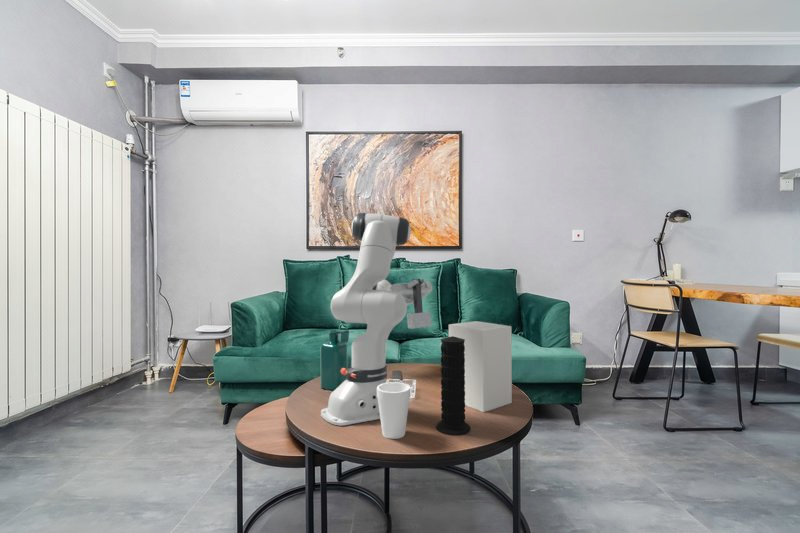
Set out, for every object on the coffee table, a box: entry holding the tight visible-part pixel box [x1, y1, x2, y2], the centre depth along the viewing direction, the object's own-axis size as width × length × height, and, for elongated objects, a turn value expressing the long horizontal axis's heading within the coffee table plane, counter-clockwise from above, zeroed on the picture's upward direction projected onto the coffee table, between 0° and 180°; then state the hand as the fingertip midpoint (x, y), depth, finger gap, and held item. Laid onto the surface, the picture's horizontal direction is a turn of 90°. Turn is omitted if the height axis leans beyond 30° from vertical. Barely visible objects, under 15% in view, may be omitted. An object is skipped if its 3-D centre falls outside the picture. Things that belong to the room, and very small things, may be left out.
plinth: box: [448, 320, 513, 413], centre depth 136 cm, size 14×16×26 cm
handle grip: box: [435, 336, 472, 436], centre depth 113 cm, size 10×26×10 cm
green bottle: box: [319, 329, 350, 391], centre depth 152 cm, size 10×8×22 cm
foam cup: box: [377, 381, 411, 440], centre depth 110 cm, size 10×9×13 cm
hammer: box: [406, 278, 432, 330], centre depth 163 cm, size 10×20×3 cm
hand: (420, 280), depth 162 cm, fingers closed on hammer, 2 cm apart
